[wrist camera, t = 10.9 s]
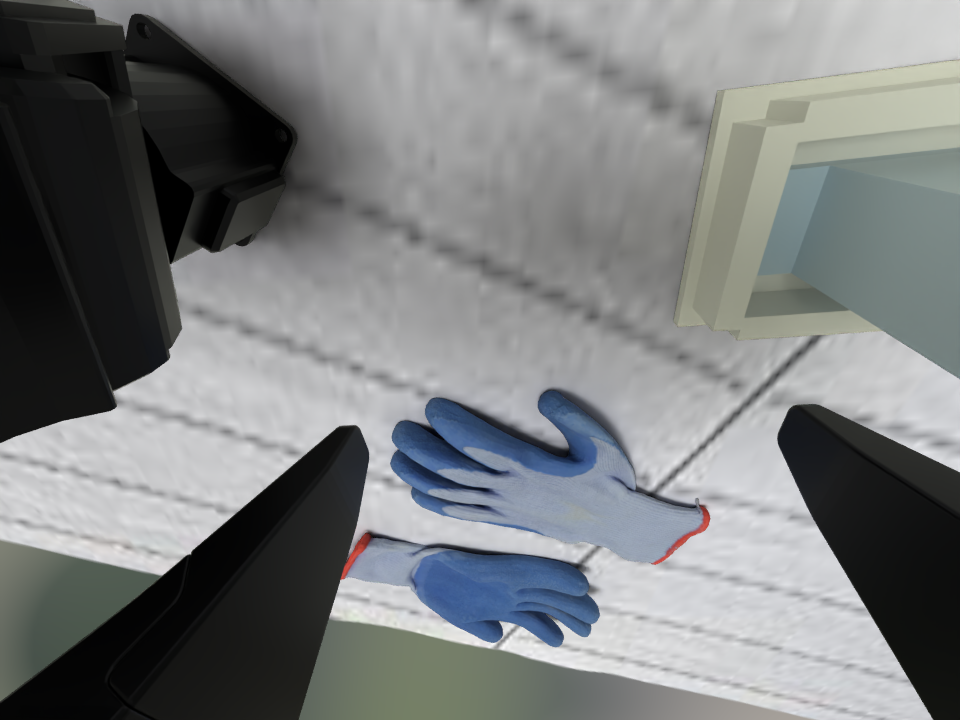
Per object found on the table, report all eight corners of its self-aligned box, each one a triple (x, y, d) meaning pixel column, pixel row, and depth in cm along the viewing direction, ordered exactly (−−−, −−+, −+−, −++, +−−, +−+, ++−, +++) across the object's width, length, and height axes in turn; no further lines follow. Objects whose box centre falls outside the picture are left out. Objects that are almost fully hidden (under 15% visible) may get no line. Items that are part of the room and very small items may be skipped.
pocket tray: (673, 321, 21) (704, 363, 18) (717, 90, 15) (776, 90, 12) (939, 302, 20) (1026, 344, 16) (1100, 41, 14) (1285, 25, 11)
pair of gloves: (435, 333, 23) (425, 370, 20) (765, 467, 28) (796, 512, 25) (328, 571, 40) (314, 610, 37) (545, 628, 45) (548, 666, 42)
